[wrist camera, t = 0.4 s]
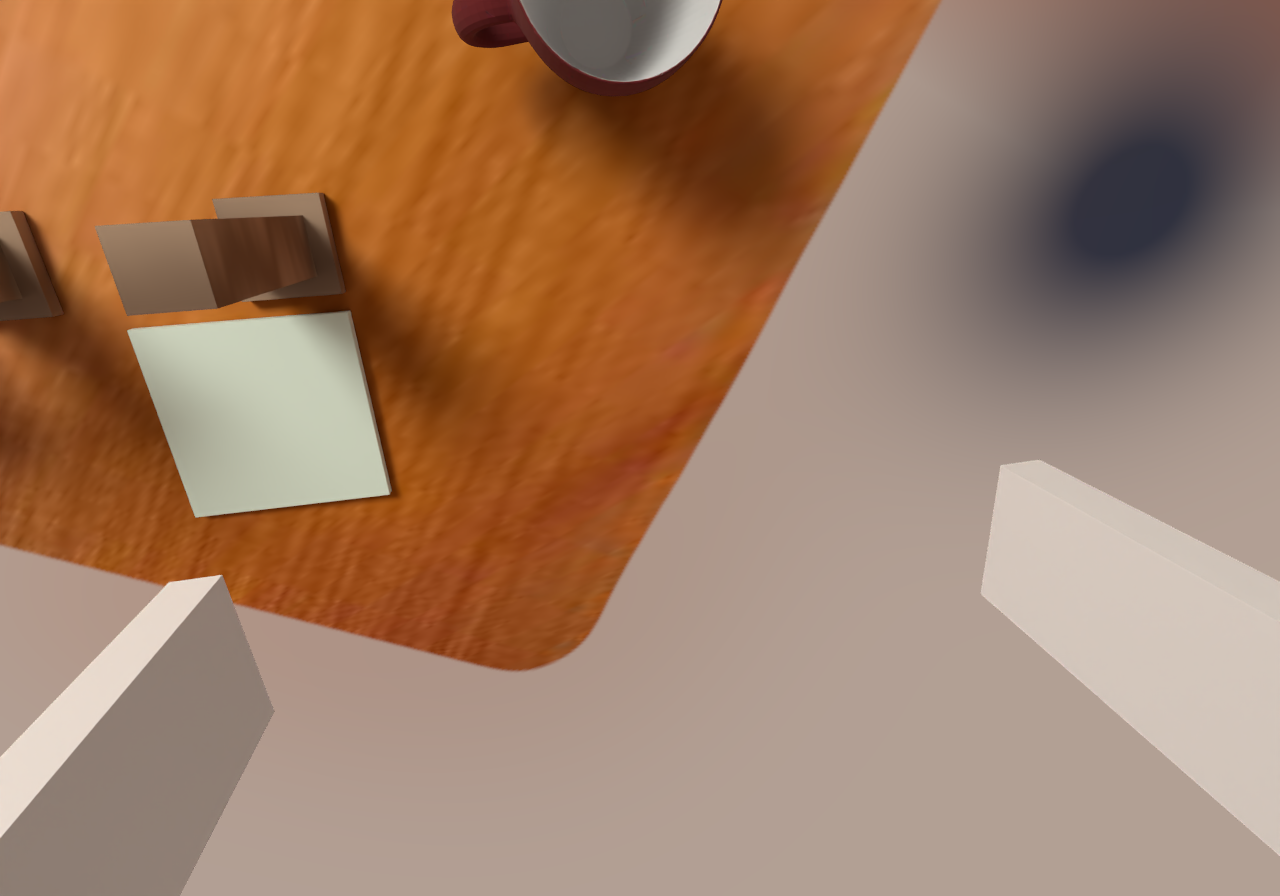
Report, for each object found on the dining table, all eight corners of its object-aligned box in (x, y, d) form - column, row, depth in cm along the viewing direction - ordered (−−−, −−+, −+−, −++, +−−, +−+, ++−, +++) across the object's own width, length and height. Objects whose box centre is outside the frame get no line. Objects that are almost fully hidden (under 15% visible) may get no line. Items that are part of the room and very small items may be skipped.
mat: (133, 328, 33) (126, 330, 32) (350, 310, 34) (347, 312, 34) (200, 512, 37) (195, 517, 37) (391, 490, 38) (389, 494, 38)
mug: (503, 154, 33) (490, 135, 24) (438, -25, 30) (395, -128, 20) (691, 91, 33) (751, 48, 24) (647, -93, 30) (697, -224, 21)
